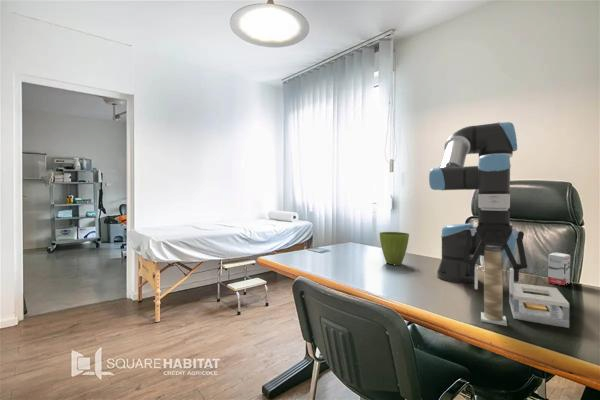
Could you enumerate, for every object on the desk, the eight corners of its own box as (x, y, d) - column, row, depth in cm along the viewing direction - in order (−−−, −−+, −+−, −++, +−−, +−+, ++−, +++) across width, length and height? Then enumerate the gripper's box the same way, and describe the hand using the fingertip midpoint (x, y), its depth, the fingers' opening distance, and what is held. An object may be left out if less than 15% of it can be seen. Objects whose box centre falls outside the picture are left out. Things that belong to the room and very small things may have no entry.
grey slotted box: (513, 318, 85) (513, 295, 85) (509, 301, 99) (509, 282, 99) (569, 328, 79) (569, 303, 79) (556, 308, 93) (556, 287, 93)
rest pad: (480, 321, 84) (480, 319, 84) (480, 314, 89) (480, 312, 89) (507, 325, 80) (507, 323, 80) (505, 318, 86) (505, 316, 86)
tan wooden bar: (484, 318, 84) (483, 247, 84) (484, 313, 88) (483, 245, 88) (503, 321, 81) (502, 248, 82) (502, 316, 85) (501, 246, 85)
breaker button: (527, 314, 88) (527, 306, 88) (525, 309, 92) (525, 301, 92) (547, 317, 86) (547, 309, 86) (544, 312, 90) (544, 304, 90)
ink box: (563, 286, 116) (563, 256, 116) (547, 283, 121) (547, 254, 121) (570, 283, 121) (570, 253, 121) (555, 280, 125) (555, 252, 125)
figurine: (469, 267, 148) (469, 243, 148) (478, 265, 152) (478, 242, 152) (488, 271, 140) (488, 246, 140) (497, 269, 145) (497, 244, 145)
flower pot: (388, 259, 167) (388, 231, 167) (414, 263, 156) (414, 233, 156) (373, 263, 157) (373, 233, 157) (400, 268, 146) (400, 235, 146)
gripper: (451, 209, 86) (451, 288, 87) (542, 210, 76) (542, 300, 76) (453, 208, 93) (453, 281, 93) (537, 209, 82) (537, 292, 82)
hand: (493, 290), depth 84 cm, fingers open, 8 cm apart
